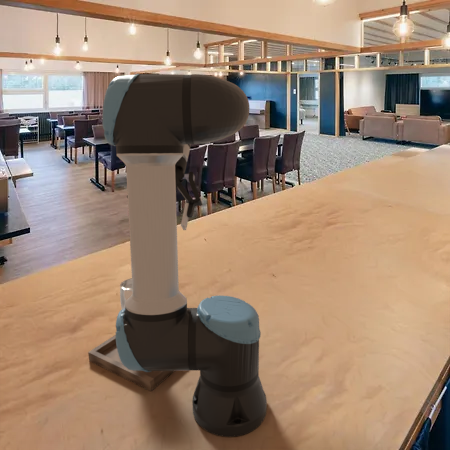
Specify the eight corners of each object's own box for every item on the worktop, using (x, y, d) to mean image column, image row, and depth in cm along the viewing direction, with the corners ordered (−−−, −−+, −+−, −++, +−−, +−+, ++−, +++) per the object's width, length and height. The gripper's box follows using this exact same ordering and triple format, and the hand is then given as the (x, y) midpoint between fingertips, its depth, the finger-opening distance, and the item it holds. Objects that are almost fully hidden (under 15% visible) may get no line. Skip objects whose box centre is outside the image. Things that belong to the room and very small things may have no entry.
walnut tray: (203, 345, 102) (203, 336, 101) (150, 391, 85) (150, 381, 85) (146, 323, 112) (145, 315, 111) (89, 361, 96) (88, 352, 95)
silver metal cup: (140, 327, 102) (136, 274, 97) (158, 337, 97) (155, 282, 93) (118, 340, 96) (112, 284, 92) (136, 350, 92) (132, 293, 88)
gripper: (219, 168, 111) (208, 235, 102) (136, 166, 116) (118, 230, 106) (215, 151, 105) (202, 221, 95) (127, 150, 109) (107, 216, 100)
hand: (157, 226), depth 101 cm, fingers open, 13 cm apart
